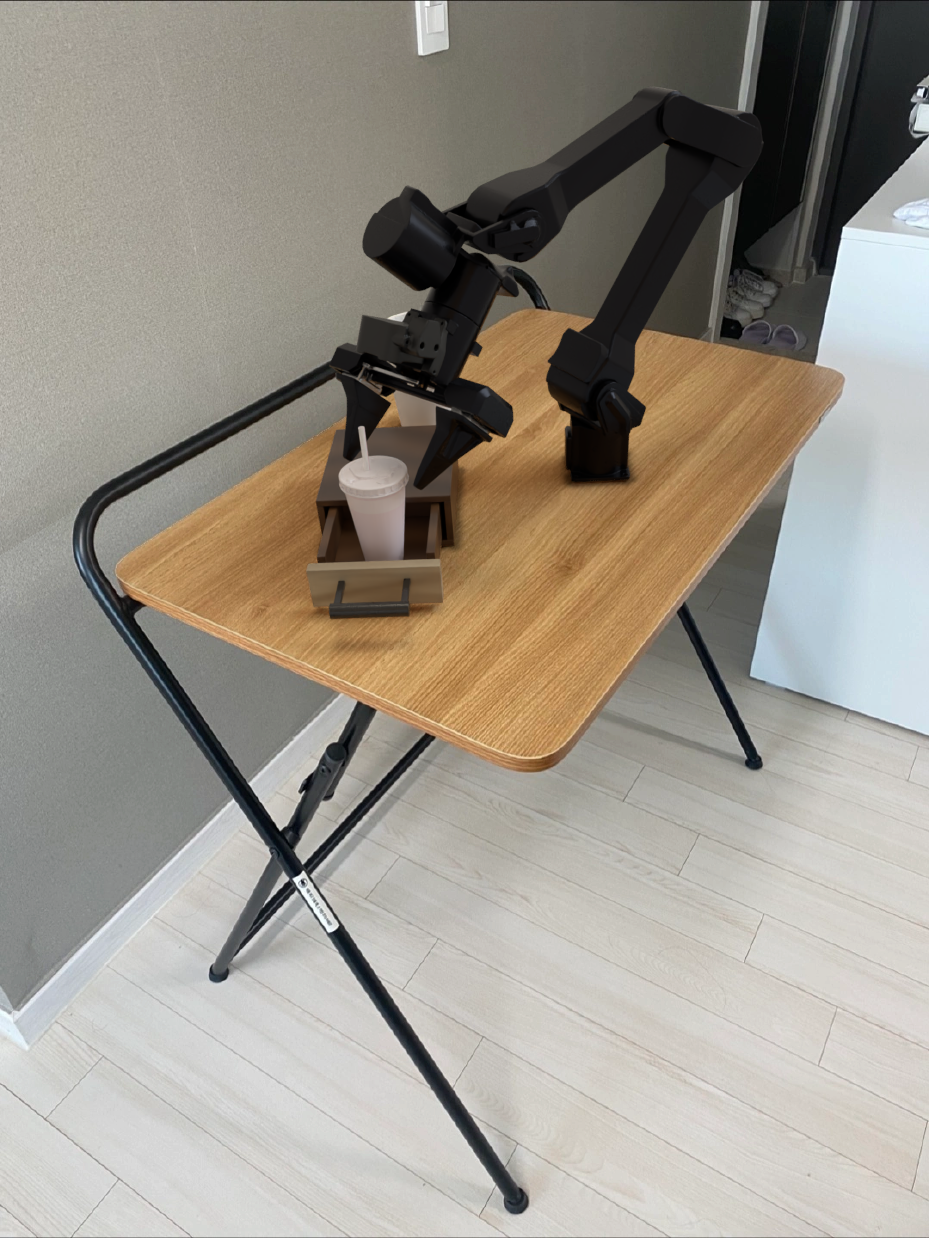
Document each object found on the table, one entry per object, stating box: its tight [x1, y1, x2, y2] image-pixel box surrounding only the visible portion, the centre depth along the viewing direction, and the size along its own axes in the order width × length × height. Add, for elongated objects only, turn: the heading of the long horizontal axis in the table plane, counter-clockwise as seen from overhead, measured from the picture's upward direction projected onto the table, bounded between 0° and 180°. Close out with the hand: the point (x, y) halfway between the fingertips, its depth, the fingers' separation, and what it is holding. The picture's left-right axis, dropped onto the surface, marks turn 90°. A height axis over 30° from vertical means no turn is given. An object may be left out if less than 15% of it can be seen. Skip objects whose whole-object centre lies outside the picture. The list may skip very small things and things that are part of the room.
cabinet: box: [315, 425, 460, 547], centre depth 102 cm, size 15×13×6 cm
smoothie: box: [339, 426, 409, 561], centre depth 89 cm, size 6×6×14 cm
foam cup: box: [386, 309, 451, 427], centre depth 115 cm, size 10×9×13 cm
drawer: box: [305, 502, 445, 620], centre depth 92 cm, size 19×12×4 cm, turn 178°
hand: (381, 473), depth 88 cm, fingers open, 9 cm apart
